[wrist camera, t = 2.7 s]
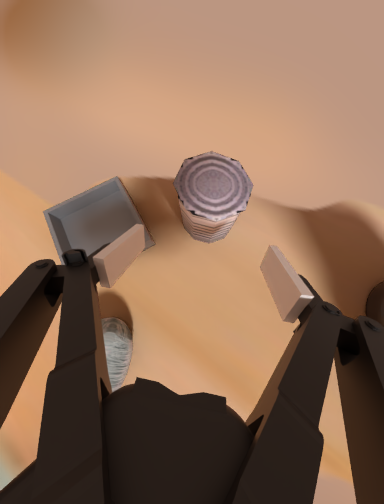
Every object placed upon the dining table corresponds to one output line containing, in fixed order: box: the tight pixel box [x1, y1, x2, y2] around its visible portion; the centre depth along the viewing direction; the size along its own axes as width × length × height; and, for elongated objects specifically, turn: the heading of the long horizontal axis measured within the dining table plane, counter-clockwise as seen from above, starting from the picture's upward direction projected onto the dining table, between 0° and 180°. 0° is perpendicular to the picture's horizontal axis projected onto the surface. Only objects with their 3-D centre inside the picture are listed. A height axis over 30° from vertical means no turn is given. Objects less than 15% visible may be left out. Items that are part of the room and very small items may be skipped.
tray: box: [43, 176, 155, 265], centre depth 31 cm, size 17×17×4 cm
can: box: [173, 151, 253, 243], centre depth 27 cm, size 11×11×12 cm
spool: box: [101, 317, 133, 392], centre depth 23 cm, size 14×10×10 cm
